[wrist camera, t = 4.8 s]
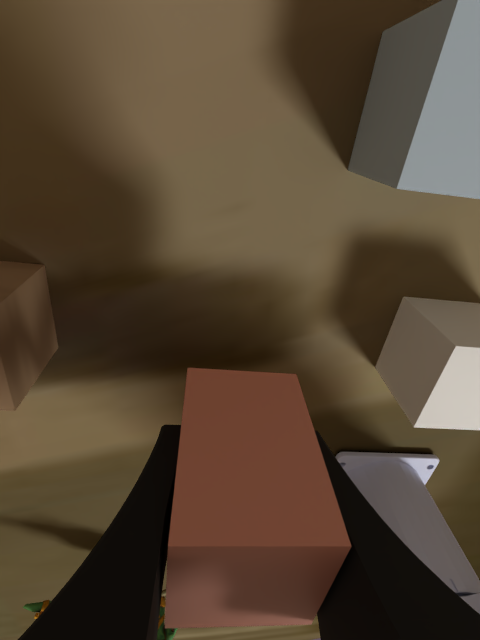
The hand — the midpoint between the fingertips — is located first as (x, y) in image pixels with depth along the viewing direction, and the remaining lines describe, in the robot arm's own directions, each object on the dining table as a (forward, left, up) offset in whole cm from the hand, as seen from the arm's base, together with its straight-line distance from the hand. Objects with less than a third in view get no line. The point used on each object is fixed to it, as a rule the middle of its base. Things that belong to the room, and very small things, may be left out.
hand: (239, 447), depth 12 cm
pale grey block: (0, -12, -9) cm, 15 cm away
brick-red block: (0, 0, -2) cm, 2 cm away
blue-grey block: (+11, -7, -9) cm, 16 cm away
